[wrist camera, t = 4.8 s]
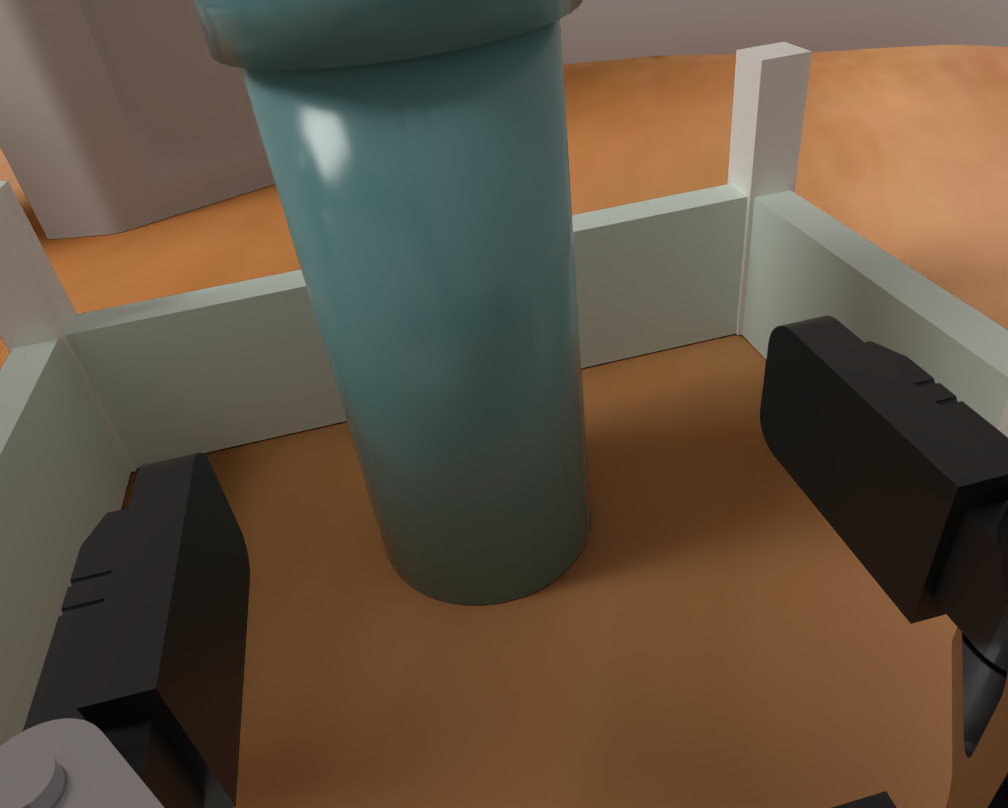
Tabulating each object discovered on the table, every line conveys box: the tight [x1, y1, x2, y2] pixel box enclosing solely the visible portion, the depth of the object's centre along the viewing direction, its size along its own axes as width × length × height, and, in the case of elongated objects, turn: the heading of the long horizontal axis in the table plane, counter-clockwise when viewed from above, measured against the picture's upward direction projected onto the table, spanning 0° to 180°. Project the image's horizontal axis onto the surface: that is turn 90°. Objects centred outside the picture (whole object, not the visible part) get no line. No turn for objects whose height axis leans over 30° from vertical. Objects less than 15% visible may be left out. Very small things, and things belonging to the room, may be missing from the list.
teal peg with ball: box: [193, 0, 591, 605], centre depth 15 cm, size 6×6×18 cm
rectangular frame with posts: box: [0, 42, 1008, 746], centre depth 18 cm, size 14×24×9 cm, turn 103°
